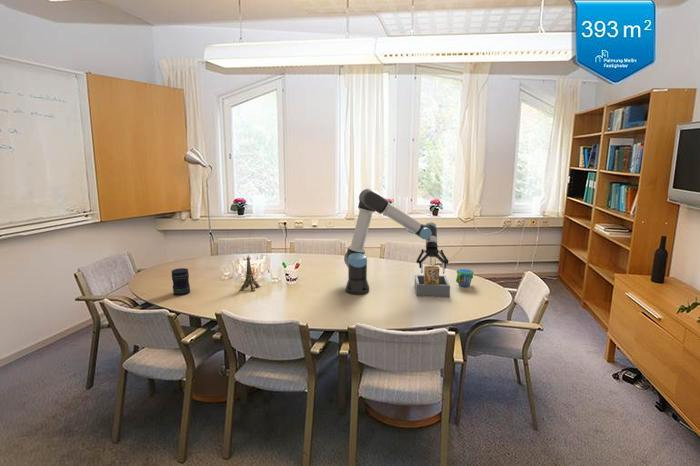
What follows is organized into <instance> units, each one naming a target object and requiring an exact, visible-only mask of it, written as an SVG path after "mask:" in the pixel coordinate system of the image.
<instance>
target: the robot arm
mask: <svg viewBox="0 0 700 466" xmlns="http://www.w3.org/2000/svg"><path fill="white" fill-rule="evenodd" d="M357 208H358V210H359V211H358V215H357V218H356V219H357V220H356V224H355V227H354V232H353V236H352V240H351V244H350V246H348V247H347V251H346V252H345V254H344V256H343V257H344V258H343V260H344V264H345V265H346V266H347V268H348V269H347V270H348V274H347V275H348V280H347V283H346V285H345V293H347V294H349V295H355V296H358V295H367V294H368V293H369V292H370V285H369V282H368V280H367V279H368V276H367V275H368V273H367V272H368V271H367V270H368V259H367V256H366V255H365V254H366V250H365V248H364V247H365V243H366V240H367V236H368V233H369V229H370V228H369V227H370V224H371V220H372V216H373V214H375V212H376V213H378V214H380V215H382V214H383V215H385V216H386V217H387V218H388V219H390V220H392V221H394V222H396V223H397V224H399V225H401V226H402V228H403V227H404V229H407V231H408V232H409V233H410V234H414V235H416V236H417V237H419V238H421V239H422V240H425V249H423V248H422V249H421V251H420V254H419V255H418V257H417V258H416V264H418V266H419V269H420V272H421V273H420V274H424V268H423V267H424V265H423V263H424V261H425V260H426V259H427V258H436V259H438V261H440V262H441V264H442V274H443V275H445V271H446V270H445V269H446V268H447V265H448V264H449V259H448V258H447V256H446V255H445V253H444V250H443V249H441V250H439V247H438V232H437V231H438V230H437V229H438V228H437V224H436V223H434V222H432V221H431V222H427V223H426V224H423V223H420V222H419V221H418V220H416V219H415V218H413V217H411V216H410V215H409V214H407V213H406V212H403V211H402V210H400V209H398V208H397V207H396V206H394V205H392V204H391V203H390V201H389V200H387V199H386V198H385V197H384V196H383V195H381V194H380V193H379V192H378V191H376V190H374V189H372V188H365V189H363V190H362V191H361V192H360V193H359V196H358V207H357ZM423 254H424V256H423ZM439 254H440V255H439Z"/></svg>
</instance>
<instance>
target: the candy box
mask: <svg viewBox="0 0 700 466" xmlns="http://www.w3.org/2000/svg"><path fill="white" fill-rule="evenodd" d="M423 267H424V268H423V275H424V284H436V285H439V275H440V266H439V265H424V266H423Z"/></svg>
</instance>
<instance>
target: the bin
mask: <svg viewBox="0 0 700 466" xmlns="http://www.w3.org/2000/svg"><path fill="white" fill-rule="evenodd" d="M413 285H414V290H415V296H416V297H422V298H423V297H428V298H431V297H432V298H450V296H451V284H450V282H449V280H448V278H447V276H446V275H440V274H439V285H436V284H424V274H414V284H413Z"/></svg>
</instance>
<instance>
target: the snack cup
mask: <svg viewBox="0 0 700 466" xmlns="http://www.w3.org/2000/svg"><path fill="white" fill-rule="evenodd" d="M456 274H457V275H456V279H455V282H456V283H457V284H458V286H460V287H463V288H469V287H470V286H471V284H472V279H473V278H474V270H471V269H467V268H459V269H456Z"/></svg>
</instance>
